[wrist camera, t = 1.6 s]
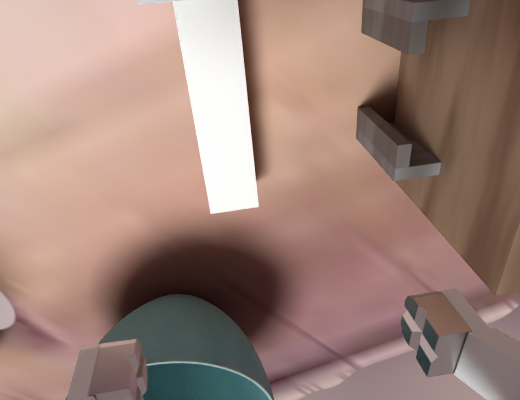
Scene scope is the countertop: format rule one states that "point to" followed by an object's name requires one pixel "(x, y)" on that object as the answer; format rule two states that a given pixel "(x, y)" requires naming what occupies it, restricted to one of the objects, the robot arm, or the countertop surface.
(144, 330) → the teal bowl
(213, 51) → the white t-shaped piece
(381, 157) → the brown wooden block
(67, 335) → the countertop surface
